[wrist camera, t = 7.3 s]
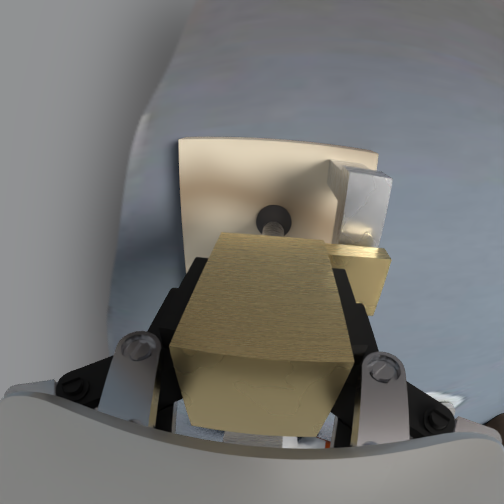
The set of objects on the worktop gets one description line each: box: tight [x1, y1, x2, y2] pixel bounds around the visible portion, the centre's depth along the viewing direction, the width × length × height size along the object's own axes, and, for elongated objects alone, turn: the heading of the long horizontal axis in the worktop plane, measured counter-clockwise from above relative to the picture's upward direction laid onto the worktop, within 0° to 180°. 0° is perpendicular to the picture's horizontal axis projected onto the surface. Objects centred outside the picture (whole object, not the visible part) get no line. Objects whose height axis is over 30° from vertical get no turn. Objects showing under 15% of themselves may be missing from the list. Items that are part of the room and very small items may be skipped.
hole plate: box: [179, 137, 378, 274], centre depth 21 cm, size 24×12×2 cm, turn 178°
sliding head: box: [169, 222, 391, 437], centre depth 11 cm, size 4×7×12 cm, turn 88°
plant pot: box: [484, 413, 504, 447], centre depth 28 cm, size 15×15×16 cm
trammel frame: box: [223, 159, 393, 448], centre depth 15 cm, size 23×7×12 cm, turn 178°
